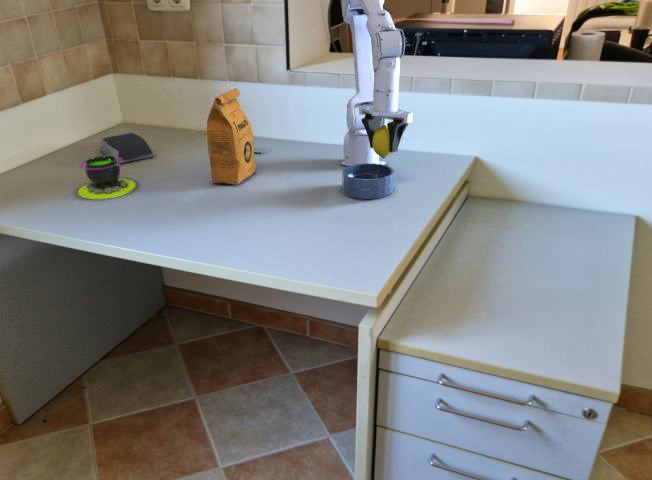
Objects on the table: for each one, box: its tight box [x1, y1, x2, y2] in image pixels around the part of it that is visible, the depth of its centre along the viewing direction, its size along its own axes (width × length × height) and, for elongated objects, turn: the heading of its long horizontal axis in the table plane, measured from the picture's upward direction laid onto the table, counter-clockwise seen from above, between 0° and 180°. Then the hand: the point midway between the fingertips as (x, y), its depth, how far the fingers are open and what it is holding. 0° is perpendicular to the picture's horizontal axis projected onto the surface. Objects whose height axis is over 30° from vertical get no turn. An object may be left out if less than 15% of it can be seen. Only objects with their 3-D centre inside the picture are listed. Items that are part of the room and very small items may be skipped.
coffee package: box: [206, 87, 257, 185], centre depth 154 cm, size 10×12×22 cm
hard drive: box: [99, 132, 155, 164], centre depth 184 cm, size 13×19×4 cm
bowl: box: [341, 163, 395, 200], centre depth 146 cm, size 12×12×5 cm
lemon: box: [372, 124, 392, 159], centre depth 144 cm, size 6×6×8 cm
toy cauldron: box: [77, 144, 137, 200], centre depth 156 cm, size 15×15×11 cm
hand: (383, 149), depth 145 cm, fingers closed on lemon, 5 cm apart
